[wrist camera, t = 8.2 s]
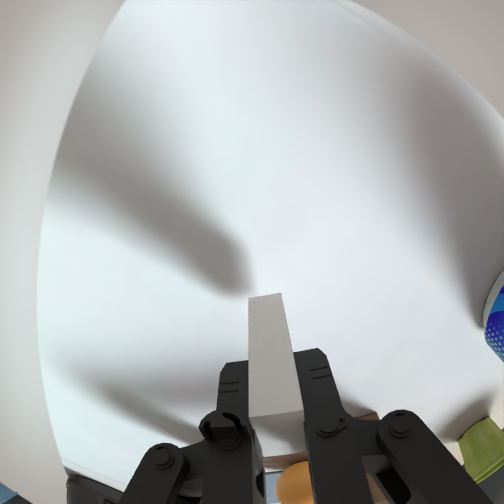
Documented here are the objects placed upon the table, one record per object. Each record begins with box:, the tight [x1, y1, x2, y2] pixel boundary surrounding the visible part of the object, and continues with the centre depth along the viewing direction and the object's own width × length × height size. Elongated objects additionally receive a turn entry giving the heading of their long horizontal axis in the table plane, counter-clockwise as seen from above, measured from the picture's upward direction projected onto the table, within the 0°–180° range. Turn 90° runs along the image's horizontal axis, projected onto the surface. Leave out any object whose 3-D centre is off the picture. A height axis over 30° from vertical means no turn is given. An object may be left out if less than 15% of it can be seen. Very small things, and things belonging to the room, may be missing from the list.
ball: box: [275, 461, 314, 504], centre depth 20 cm, size 6×6×6 cm
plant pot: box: [458, 417, 504, 483], centre depth 21 cm, size 9×9×9 cm
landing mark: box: [265, 471, 283, 504], centre depth 25 cm, size 13×13×1 cm
